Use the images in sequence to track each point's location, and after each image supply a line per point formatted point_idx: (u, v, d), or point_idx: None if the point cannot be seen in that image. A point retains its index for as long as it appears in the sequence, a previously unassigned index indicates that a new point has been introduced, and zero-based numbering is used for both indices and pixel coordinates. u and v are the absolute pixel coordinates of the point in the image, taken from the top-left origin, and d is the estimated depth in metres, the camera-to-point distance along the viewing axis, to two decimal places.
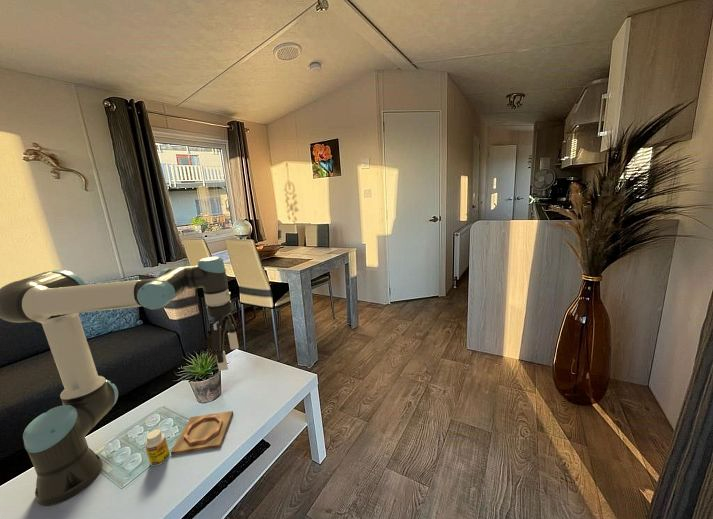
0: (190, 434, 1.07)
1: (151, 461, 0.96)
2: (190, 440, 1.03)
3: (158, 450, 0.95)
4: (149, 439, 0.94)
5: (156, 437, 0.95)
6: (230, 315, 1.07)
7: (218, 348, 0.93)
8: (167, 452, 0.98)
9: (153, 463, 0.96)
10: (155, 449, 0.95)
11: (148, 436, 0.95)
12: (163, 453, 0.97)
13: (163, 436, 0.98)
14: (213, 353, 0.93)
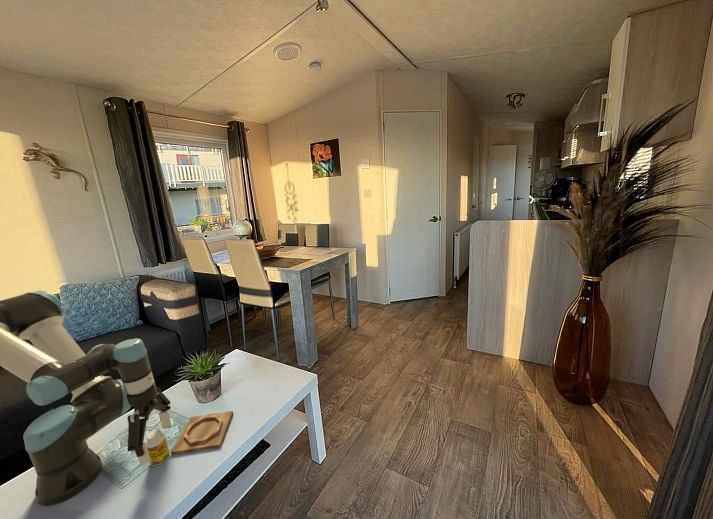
0: (190, 434, 1.07)
1: (151, 461, 0.96)
2: (190, 440, 1.03)
3: (158, 450, 0.95)
4: (149, 439, 0.94)
5: (156, 436, 0.95)
6: (159, 395, 1.00)
7: (135, 443, 0.86)
8: (167, 452, 0.98)
9: (153, 463, 0.96)
10: (155, 449, 0.95)
11: (148, 436, 0.95)
12: (163, 453, 0.97)
13: (163, 436, 0.98)
14: (129, 449, 0.85)
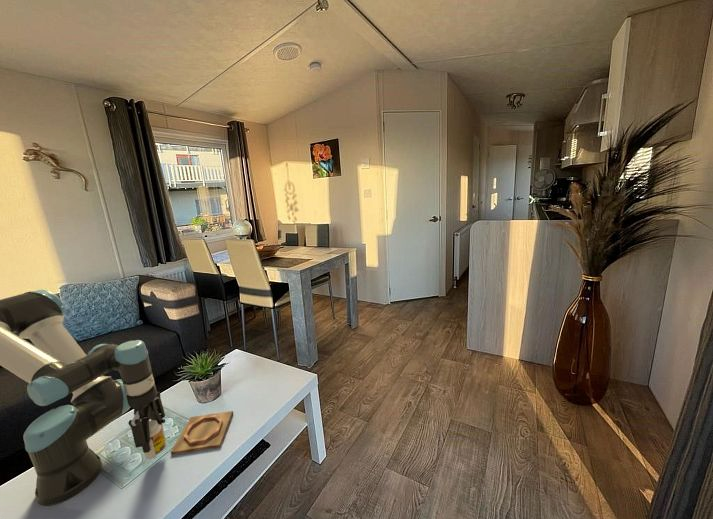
0: (190, 434, 1.07)
1: None
2: (190, 440, 1.03)
3: (154, 440, 0.95)
4: None
5: (153, 427, 0.95)
6: (158, 400, 0.99)
7: (141, 442, 0.90)
8: (163, 443, 0.98)
9: None
10: None
11: None
12: (159, 444, 0.96)
13: (159, 427, 0.97)
14: (137, 446, 0.90)
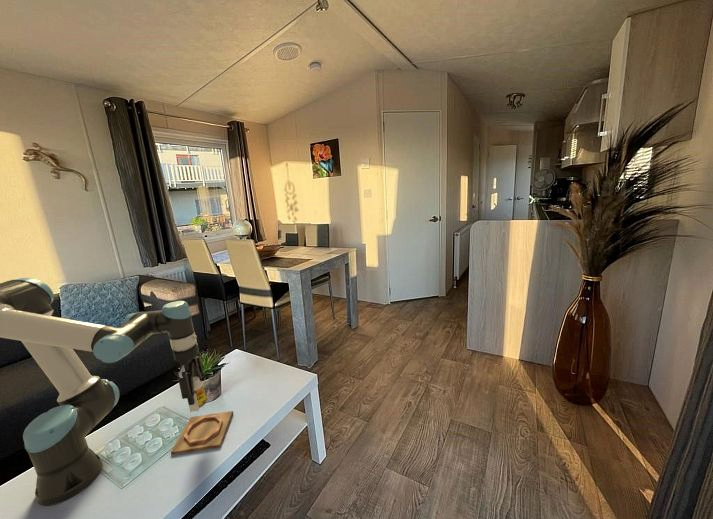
0: (190, 434, 1.07)
1: None
2: (190, 440, 1.03)
3: (197, 394, 1.02)
4: None
5: (196, 382, 1.02)
6: (198, 359, 1.07)
7: (187, 393, 0.97)
8: (205, 398, 1.05)
9: None
10: None
11: None
12: (202, 398, 1.04)
13: (201, 383, 1.05)
14: (183, 397, 0.98)
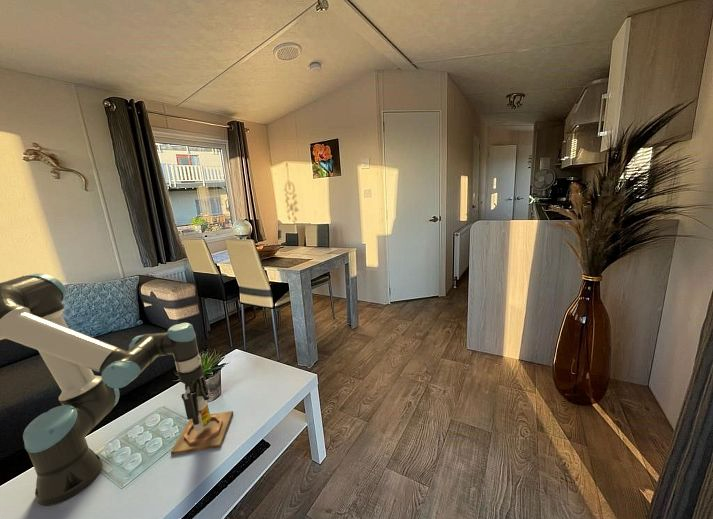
0: (190, 434, 1.07)
1: None
2: (190, 440, 1.03)
3: (202, 414, 1.04)
4: None
5: (200, 402, 1.04)
6: (202, 379, 1.09)
7: (192, 414, 0.99)
8: (209, 417, 1.07)
9: None
10: None
11: None
12: (206, 418, 1.06)
13: (206, 402, 1.07)
14: (188, 418, 0.99)
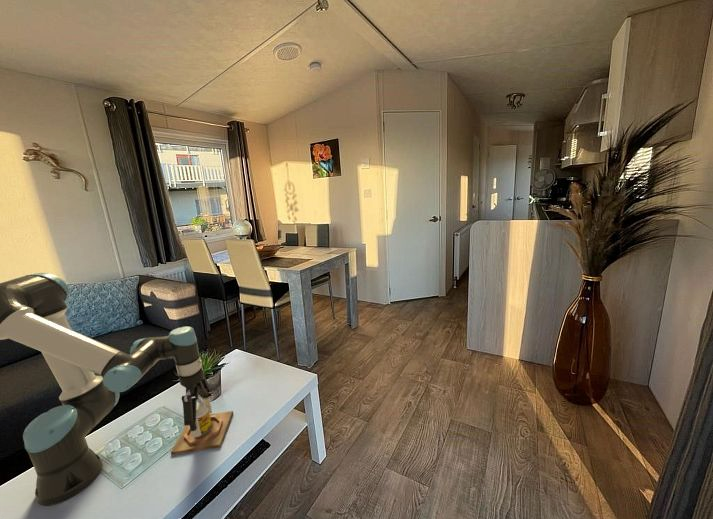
0: (190, 434, 1.07)
1: None
2: (190, 440, 1.03)
3: (203, 420, 1.05)
4: None
5: (201, 408, 1.05)
6: (203, 380, 1.10)
7: (190, 419, 0.97)
8: (210, 423, 1.08)
9: None
10: (201, 419, 1.04)
11: None
12: (207, 424, 1.06)
13: (207, 409, 1.07)
14: (185, 424, 0.97)
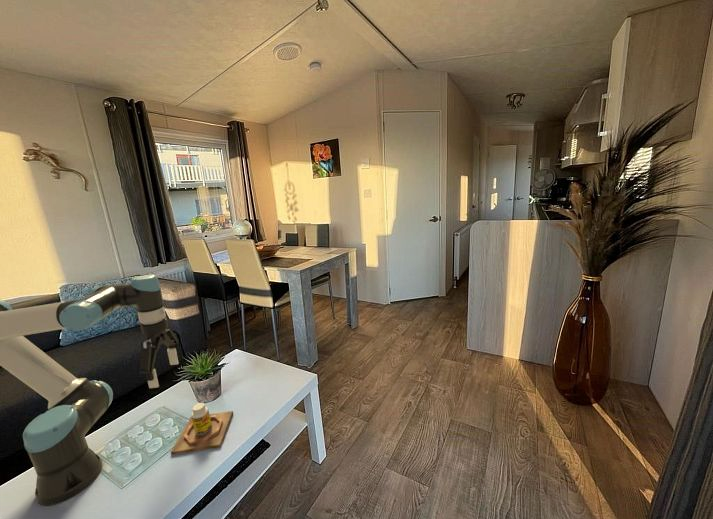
0: (190, 434, 1.07)
1: (196, 431, 1.05)
2: (190, 440, 1.03)
3: (203, 420, 1.05)
4: (195, 410, 1.04)
5: (201, 408, 1.05)
6: (169, 331, 1.08)
7: (146, 367, 0.94)
8: (210, 423, 1.08)
9: (198, 433, 1.05)
10: (201, 419, 1.04)
11: (194, 408, 1.05)
12: (207, 424, 1.06)
13: (207, 409, 1.07)
14: (141, 371, 0.94)
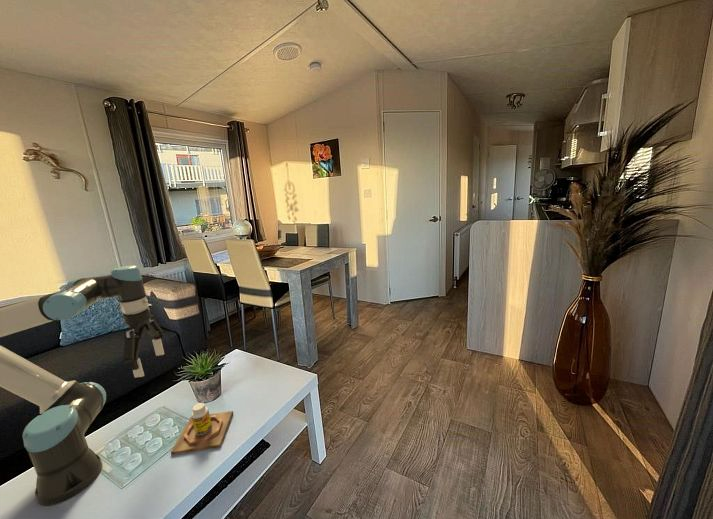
0: (190, 434, 1.07)
1: (196, 431, 1.05)
2: (190, 440, 1.03)
3: (203, 420, 1.05)
4: (195, 410, 1.04)
5: (201, 408, 1.05)
6: (153, 322, 1.09)
7: (130, 356, 0.95)
8: (210, 423, 1.08)
9: (198, 433, 1.05)
10: (201, 419, 1.04)
11: (194, 408, 1.05)
12: (207, 424, 1.06)
13: (207, 409, 1.07)
14: (125, 360, 0.95)
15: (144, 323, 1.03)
